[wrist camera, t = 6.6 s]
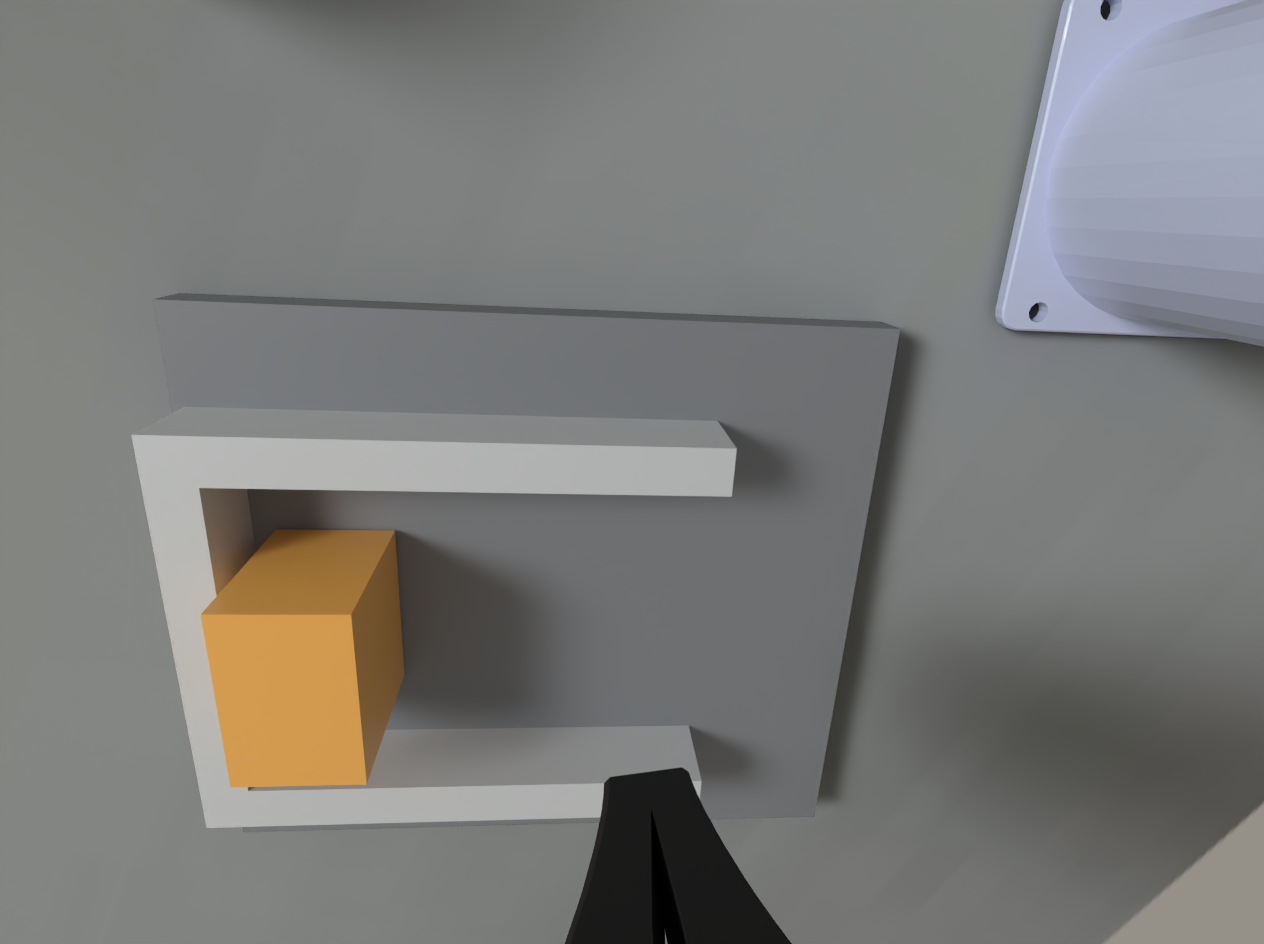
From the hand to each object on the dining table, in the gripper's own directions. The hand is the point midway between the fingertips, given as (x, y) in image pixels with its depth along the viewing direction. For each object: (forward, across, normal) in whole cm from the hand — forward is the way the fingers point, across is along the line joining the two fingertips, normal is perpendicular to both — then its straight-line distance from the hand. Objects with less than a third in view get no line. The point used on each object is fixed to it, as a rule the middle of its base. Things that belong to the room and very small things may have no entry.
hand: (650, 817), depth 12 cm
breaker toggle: (+8, +8, 0) cm, 11 cm away
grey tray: (+10, +2, +1) cm, 10 cm away
